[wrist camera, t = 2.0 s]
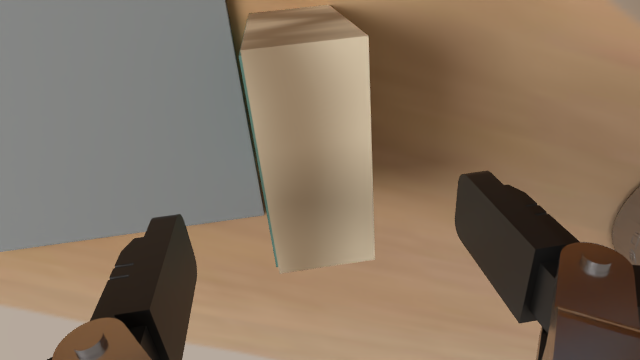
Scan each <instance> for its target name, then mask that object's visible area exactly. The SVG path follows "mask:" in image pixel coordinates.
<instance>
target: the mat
mask: <svg viewBox="0 0 640 360" xmlns="http://www.w3.org/2000/svg"><path fill="white" fill-rule="evenodd" d="M176 214H181V215H182V217H183V219H184V222H185V226H190V225H197V224H204V223H211V222H218V221H226V220H233V219H240V218H247V217H254V216H261V215H264V207H263V202H262V196H261V191H260V185H259V180H258V174H257V169H256V163H255V158H254V152H253V147H252V141H251V136H250V130H249V125H248V119H247V114H246V108H245V103H244V97H243V92H242V86H241V81H240V75H239V70H238V64H237V59H236V53H235V48H234V43H233V37H232V32H231V26H230V21H229V15H228V10H227V4H226V0H0V252H3V251H10V250H17V249H24V248H32V247H39V246H46V245H53V244H60V243H68V242H75V241H82V240H89V239H96V238H103V237H111V236H118V235H125V234H132V233H139V232H146V231H147V228H148V226H149V223H150V221H151V219H152V218H155V217H162V216H169V215H176Z"/></svg>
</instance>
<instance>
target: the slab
mask: <svg viewBox="0 0 640 360" xmlns="http://www.w3.org/2000/svg"><path fill="white" fill-rule="evenodd" d="M239 61H240V67H241V72H242V78H243V84H244V89H245V95H246V100H247V106H248V111H249V117H250V123H251V128H252V134H253V139H254V145H255V150H256V156H257V162H258V167H259V173H260V178H261V184H262V190H263V195H264V201H265V206H266V212H267V217H268V223H269V229H270V234H271V240H272V245H273V251H274V256H275V262H276V267H279V273H280V274H281V273H288V272H294V271H301V270H308V269H315V268H321V267H328V266H335V265H341V264H348V263H355V262H362V261H368V260H375V244H374V209H373V175H372V140H371V105H370V71H369V36H368V35H367V34H366V33H364V32H363V31H362V30H360V29H359V28H358V27H357V26H355V25H354V24H353V23H352V22H350V21H349V20H348V19H346V18H345V17H344V16H343V15H341V14H340V13H339V12H337V11H336V10H335V9H334V8H332V7H331V6H330V5H322V6H313V7H304V8H295V9H285V10H276V11H267V12H258V13H249V16H248V19H247V23H246V27H245V31H244V35H243V40H242V44H241V48H240V52H239Z"/></svg>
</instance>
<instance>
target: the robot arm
mask: <svg viewBox="0 0 640 360" xmlns="http://www.w3.org/2000/svg"><path fill="white" fill-rule="evenodd" d="M455 226H456V231H457V234H458V236H459V238H460V240H461V241H462V243H463V244H464V246H465V247H466V249H467V250H468V251H469V253H470V254H471V256H472V257H473V258H474V260H475V261H476V263H477V264H478V266H479V267H480V268H481V270H482V271H483V273H484V274H485V275H486V277H487V278H488V280H489V281H490V283H491V284H492V285H493V287H494V288H495V290H496V291H497V293H498V294H499V295H500V297H501V298H502V300H503V301H504V302H505V304H506V305H507V307H508V308H509V310H510V311H511V312H512V314H513V315H514V317H515V318H516V319H517V321H518V322H519V323H524V322H530V321H536V320H537V321H538V322H539V323H540V324H541V326H542V327H541V331H540V335H539V342H538V349H537V356H536V360H640V187H638V188H637V189H636V190H635V191H634V193H633V194H632V195H631V196H630V197H629V198H628V199H627V200H626V202H625V204H624V205H623V207H622V208H621V210H620V211H619V213H618V216H617V218H616V220H615V223H614V227H613V232H612V240H613V245H614V248H615V250H616V251H615V250H613V249H611V248H608V247H605V246H603V245H599V244H594V243H587V242H579V241H578V240H577V239H576V238H575V237H574V236H573V235H571V234H570V233H569V232H568V231H567V230H566V229H565V228H564V227H563V226H561V225H560V224H559V223H558V222H557V221H556V220H555V219H554V218H553V217H552V216H550V215H549V214H547V213H546V211H545V210H544V209H543V208H542V207H540V206H539V205H538V206H537V203H536V202H535V201H534V200H533V199H532V198H530V197H529V196H528V195H527V194H526V193H525V192H523V191H520V190H518V189H516V188H514V187H512V186H510V185H503V184H502V183H501V182H500V181H499V180H498V179H497V178H496V177H495V176H494V175H493V174H492V173H491V172H489V171H482V172H475V173H468V174H462V175H461V176H460V178H459V181H458V190H457V201H456V212H455ZM196 279H197V266H196V260H195V256H194V252H193V249H192V246H191V242H190V239H189V236H188V232H187V229H186V226H185V222H184V219H183V217H182V215H181V214H176V215H169V216H162V217H155V218H152V219H151V221H150V223H149V226H148V228H147V231H146V233H145V236H144V237H141V238H134V239H133V240H132V241H131V242H130V243H129V244H128V245H127V246H126V247H125V248H124V249H123V250H122V251H121V253H120V255H119V257H118V260H117V262H116V264H115V268H114V269H113V271H112V273H111V275H110V280H108V282H107V284H106V286H105V289H104V291H103V293H102V295H101V298H100V300H99V302H98V304H97V306H96V309H95V311H94V313H93V315H92V318H91V320H90V321H89V322H87V323H85V324H83V325H81V326H79V327H77V328H76V329H74V330H73V331H72V332H70V333H69V334H68V335H67V336H66V337H65V338H64V339H63V340H62V341H61V342H60V343H59V345H58V346H57V348H56V349H55V352H54V354H53V357H52V358H50V359H47V360H182V357H183V351H184V346H185V340H186V335H187V329H188V324H189V318H190V313H191V307H192V302H193V296H194V291H195V285H196Z"/></svg>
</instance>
